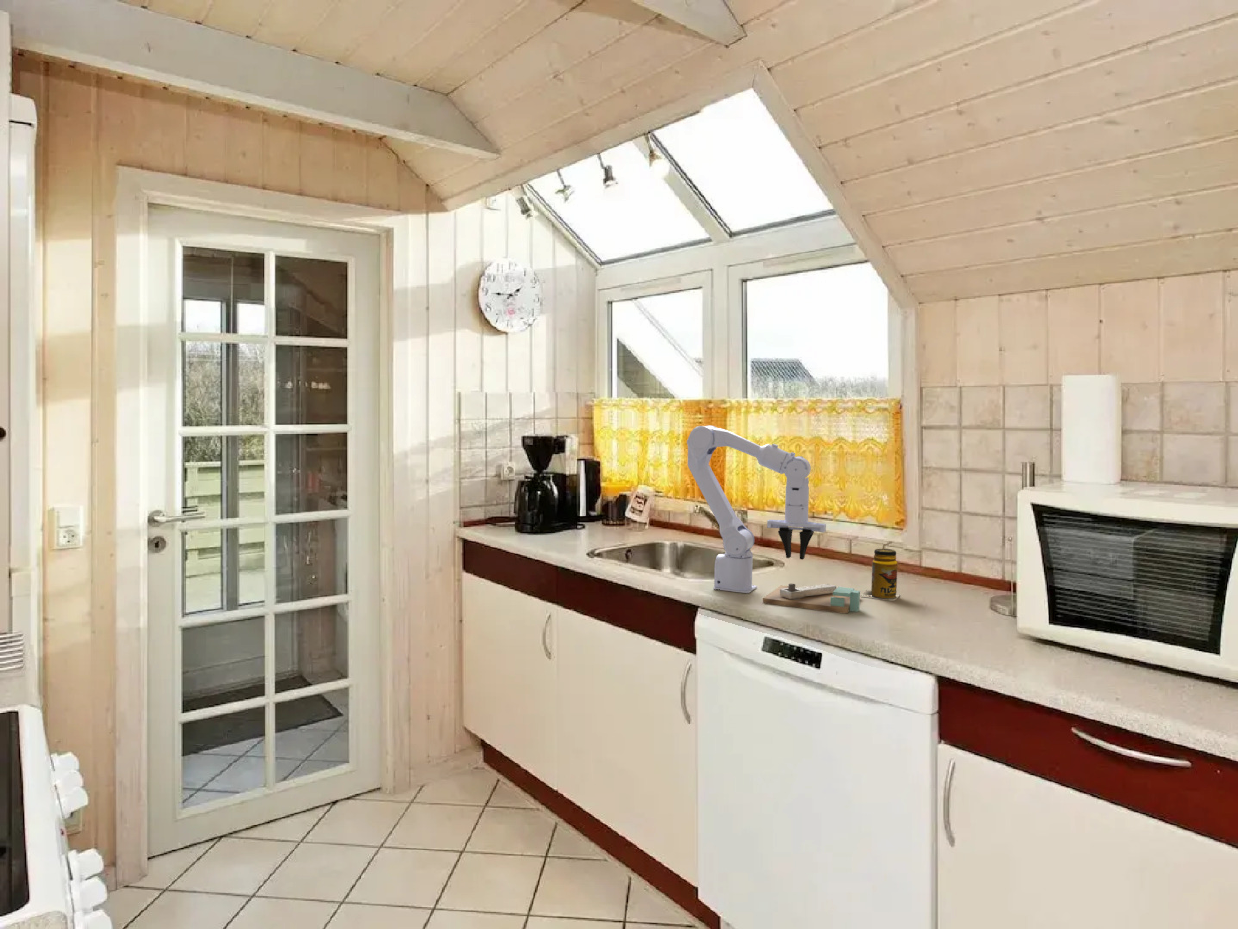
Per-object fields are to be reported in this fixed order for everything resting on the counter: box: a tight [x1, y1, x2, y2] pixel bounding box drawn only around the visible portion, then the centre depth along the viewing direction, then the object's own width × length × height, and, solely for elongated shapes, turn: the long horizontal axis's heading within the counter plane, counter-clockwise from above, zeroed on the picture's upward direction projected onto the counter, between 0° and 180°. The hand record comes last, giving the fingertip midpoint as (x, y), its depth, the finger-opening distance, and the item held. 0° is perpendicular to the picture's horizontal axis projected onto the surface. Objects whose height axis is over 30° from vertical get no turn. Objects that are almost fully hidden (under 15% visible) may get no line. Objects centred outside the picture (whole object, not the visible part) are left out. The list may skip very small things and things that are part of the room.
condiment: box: [860, 548, 900, 602], centre depth 199 cm, size 7×8×12 cm
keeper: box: [830, 586, 861, 613], centre depth 185 cm, size 6×6×4 cm
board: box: [762, 583, 850, 614], centre depth 193 cm, size 20×16×4 cm
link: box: [780, 583, 837, 599], centre depth 194 cm, size 15×4×2 cm, turn 118°
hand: (795, 558), depth 199 cm, fingers open, 3 cm apart
